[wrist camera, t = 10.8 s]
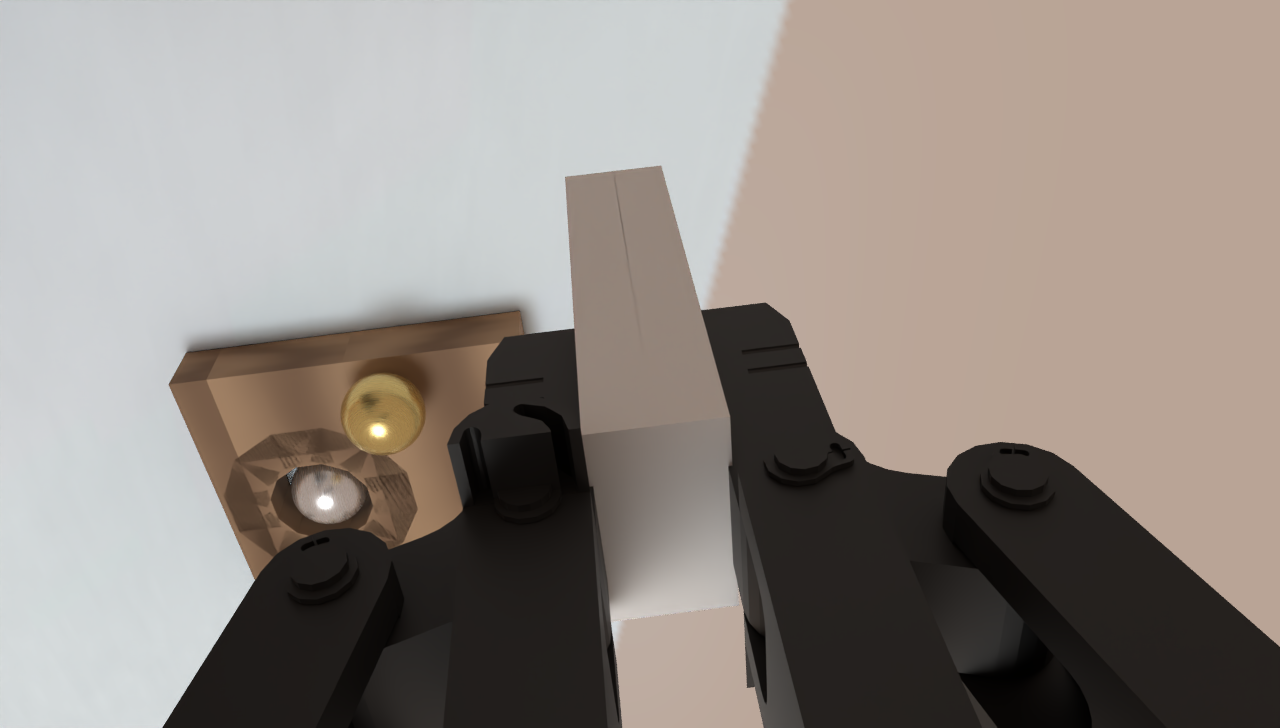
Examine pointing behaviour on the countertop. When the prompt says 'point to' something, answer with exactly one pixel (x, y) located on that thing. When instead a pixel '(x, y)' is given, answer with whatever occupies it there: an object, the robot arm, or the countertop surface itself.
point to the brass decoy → (383, 413)
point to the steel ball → (327, 493)
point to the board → (333, 425)
